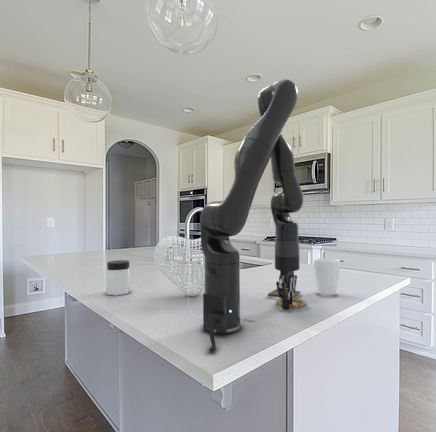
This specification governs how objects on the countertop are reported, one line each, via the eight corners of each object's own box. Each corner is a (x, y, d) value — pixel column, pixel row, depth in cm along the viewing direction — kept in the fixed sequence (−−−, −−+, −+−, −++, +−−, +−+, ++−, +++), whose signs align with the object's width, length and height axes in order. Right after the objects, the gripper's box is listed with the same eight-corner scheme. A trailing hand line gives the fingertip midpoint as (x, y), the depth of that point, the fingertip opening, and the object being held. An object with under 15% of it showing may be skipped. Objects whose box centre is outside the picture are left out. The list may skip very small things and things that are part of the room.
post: (292, 301, 105) (292, 261, 105) (268, 297, 109) (267, 260, 110) (300, 295, 113) (299, 258, 113) (276, 292, 117) (276, 257, 117)
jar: (126, 289, 124) (126, 259, 124) (133, 293, 118) (133, 261, 118) (103, 292, 119) (103, 261, 119) (109, 296, 112) (109, 264, 112)
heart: (228, 290, 122) (228, 234, 122) (232, 300, 106) (232, 236, 106) (157, 291, 120) (157, 234, 120) (150, 302, 104) (150, 237, 104)
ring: (301, 313, 92) (301, 307, 92) (271, 308, 97) (271, 302, 97) (309, 305, 100) (309, 299, 100) (281, 301, 105) (281, 295, 105)
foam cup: (345, 295, 112) (345, 260, 112) (329, 299, 107) (329, 262, 107) (324, 290, 120) (323, 257, 120) (308, 294, 115) (308, 259, 115)
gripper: (282, 251, 103) (283, 302, 103) (267, 256, 91) (267, 314, 91) (304, 252, 99) (305, 305, 99) (292, 257, 87) (292, 318, 87)
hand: (287, 309), depth 95 cm, fingers closed
